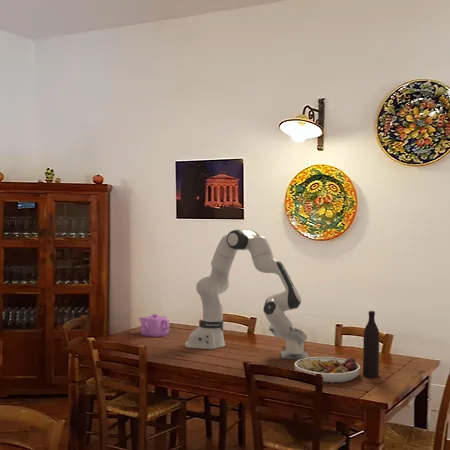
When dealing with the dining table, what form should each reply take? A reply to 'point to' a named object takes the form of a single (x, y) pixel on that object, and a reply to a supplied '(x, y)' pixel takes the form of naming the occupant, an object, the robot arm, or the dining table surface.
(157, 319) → the teakettle
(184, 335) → the dining table surface
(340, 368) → the bowl
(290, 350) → the white square canister
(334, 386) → the dining table surface
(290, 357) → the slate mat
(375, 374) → the wine bottle
